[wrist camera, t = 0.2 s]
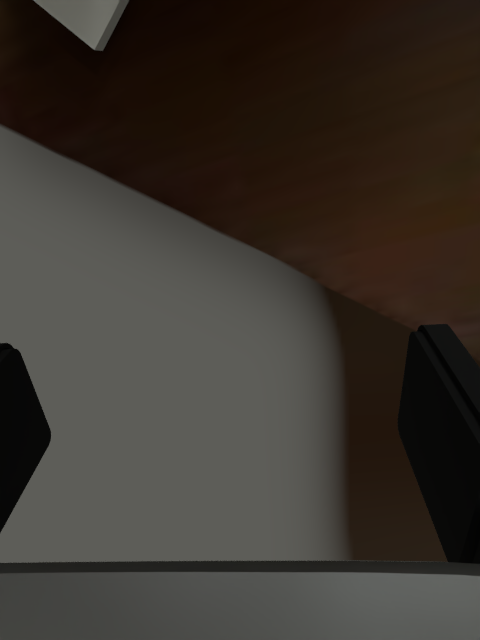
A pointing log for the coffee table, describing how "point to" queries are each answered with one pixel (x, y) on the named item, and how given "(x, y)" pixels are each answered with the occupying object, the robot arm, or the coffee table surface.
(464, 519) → the robot arm
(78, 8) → the can holder
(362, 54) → the coffee table surface
